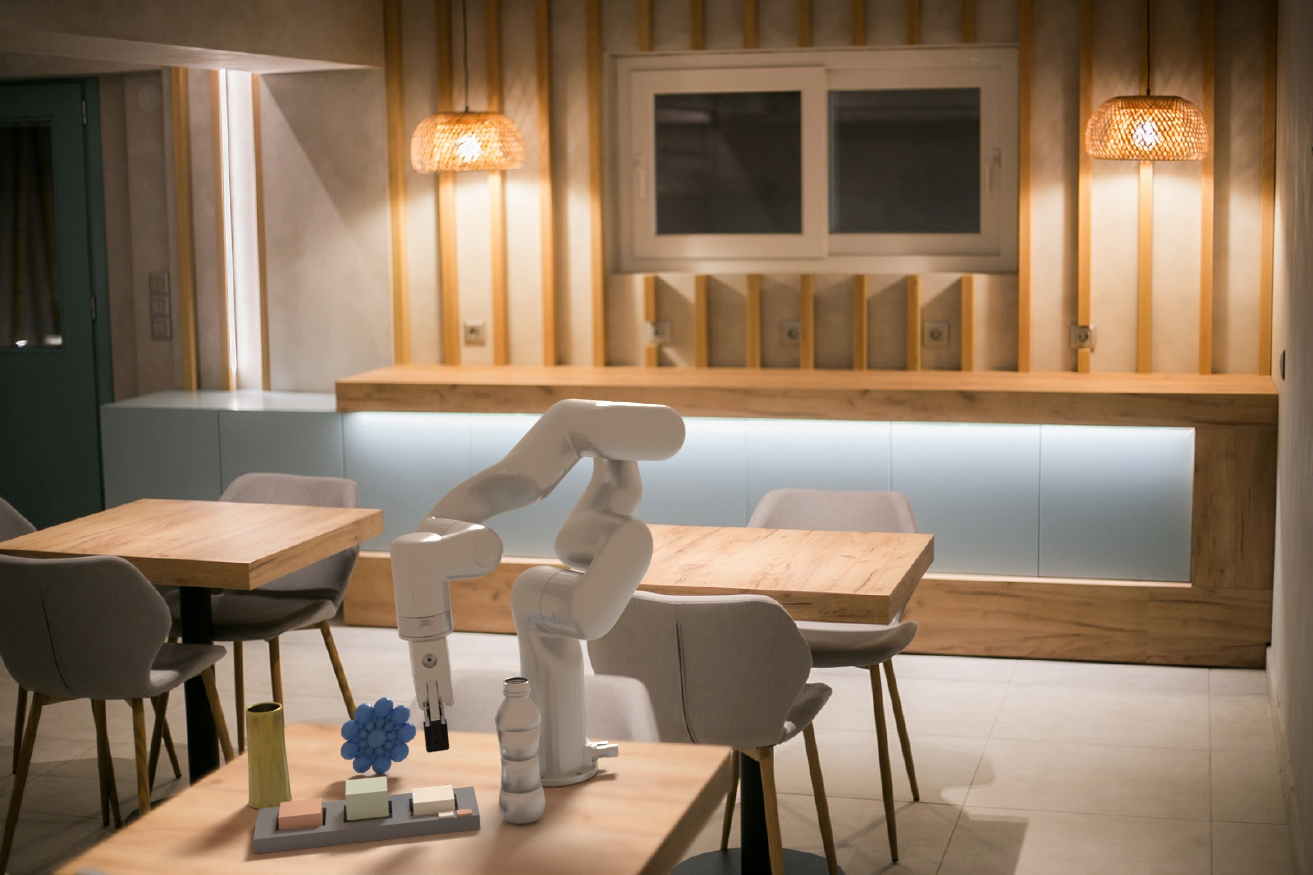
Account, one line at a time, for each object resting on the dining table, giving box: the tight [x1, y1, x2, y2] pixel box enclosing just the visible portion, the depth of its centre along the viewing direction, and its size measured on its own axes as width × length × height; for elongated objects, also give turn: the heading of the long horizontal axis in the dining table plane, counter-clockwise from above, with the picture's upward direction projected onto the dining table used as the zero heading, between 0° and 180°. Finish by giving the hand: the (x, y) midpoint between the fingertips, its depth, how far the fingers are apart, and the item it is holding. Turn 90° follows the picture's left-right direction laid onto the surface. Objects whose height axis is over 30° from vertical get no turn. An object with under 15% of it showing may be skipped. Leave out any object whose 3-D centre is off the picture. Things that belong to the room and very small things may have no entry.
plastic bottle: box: [494, 676, 547, 825], centre depth 198 cm, size 6×7×20 cm
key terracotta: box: [278, 797, 325, 830], centre depth 197 cm, size 6×6×4 cm
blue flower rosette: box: [340, 696, 417, 775], centre depth 219 cm, size 12×7×12 cm, turn 93°
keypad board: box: [252, 785, 481, 855], centre depth 199 cm, size 30×11×2 cm, turn 102°
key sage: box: [345, 776, 390, 821], centre depth 199 cm, size 6×6×4 cm
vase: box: [245, 701, 293, 810], centre depth 208 cm, size 6×6×14 cm
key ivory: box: [411, 784, 456, 816], centre depth 201 cm, size 6×6×4 cm
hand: (437, 749), depth 201 cm, fingers closed
